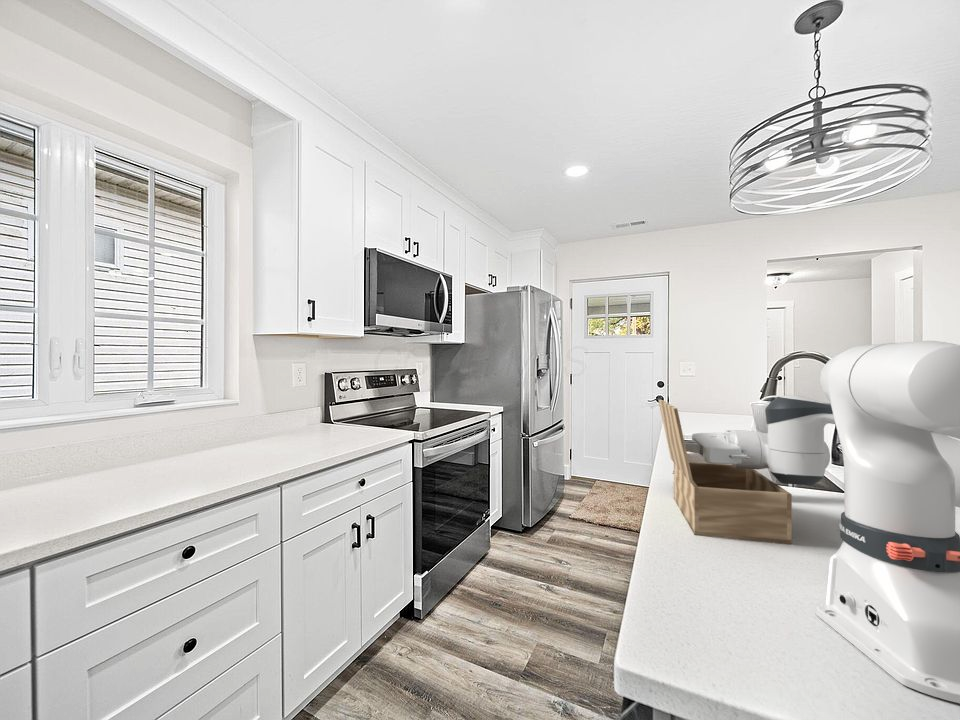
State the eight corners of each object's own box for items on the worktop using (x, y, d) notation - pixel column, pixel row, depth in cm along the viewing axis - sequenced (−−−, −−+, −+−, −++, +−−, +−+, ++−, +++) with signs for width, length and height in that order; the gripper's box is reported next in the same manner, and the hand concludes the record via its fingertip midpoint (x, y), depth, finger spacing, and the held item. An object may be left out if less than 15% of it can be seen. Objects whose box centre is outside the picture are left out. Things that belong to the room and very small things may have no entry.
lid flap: (677, 408, 94) (674, 408, 94) (693, 482, 93) (690, 483, 93) (660, 399, 118) (658, 399, 118) (673, 458, 117) (670, 458, 117)
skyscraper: (773, 495, 122) (773, 394, 123) (788, 504, 114) (788, 396, 115) (740, 493, 124) (740, 394, 124) (753, 502, 116) (753, 396, 116)
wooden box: (791, 544, 88) (791, 494, 88) (694, 534, 92) (694, 487, 92) (748, 504, 113) (748, 465, 113) (673, 498, 118) (673, 461, 118)
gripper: (754, 473, 93) (682, 468, 97) (730, 454, 112) (672, 450, 116) (754, 443, 93) (682, 439, 97) (730, 429, 112) (672, 427, 116)
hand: (676, 445), depth 107 cm, fingers closed, pressing on lid flap
